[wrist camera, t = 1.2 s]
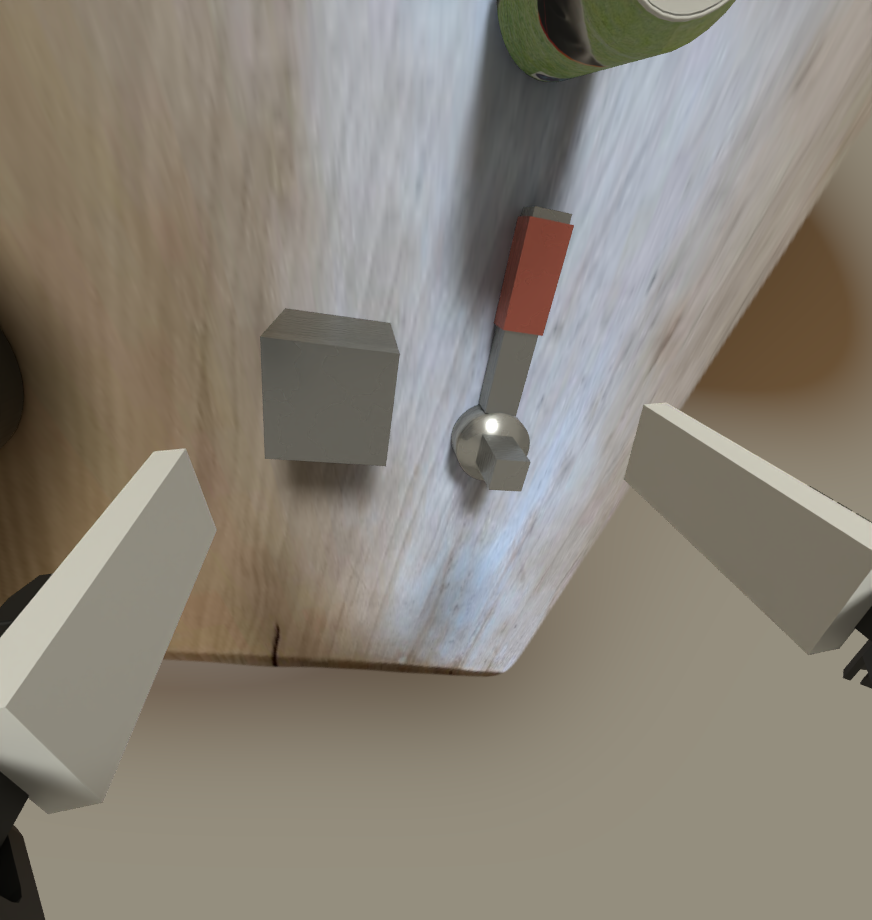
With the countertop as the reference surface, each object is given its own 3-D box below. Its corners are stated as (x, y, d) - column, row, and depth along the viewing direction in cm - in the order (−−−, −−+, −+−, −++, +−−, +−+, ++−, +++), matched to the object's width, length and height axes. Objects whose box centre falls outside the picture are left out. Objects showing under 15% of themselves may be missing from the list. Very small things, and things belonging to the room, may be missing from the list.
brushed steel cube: (286, 406, 27) (264, 458, 21) (285, 308, 24) (260, 336, 18) (380, 414, 28) (385, 466, 22) (390, 323, 25) (399, 353, 19)
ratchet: (445, 463, 31) (461, 507, 26) (498, 202, 23) (535, 195, 18) (509, 467, 32) (536, 511, 27) (581, 219, 24) (637, 218, 19)
